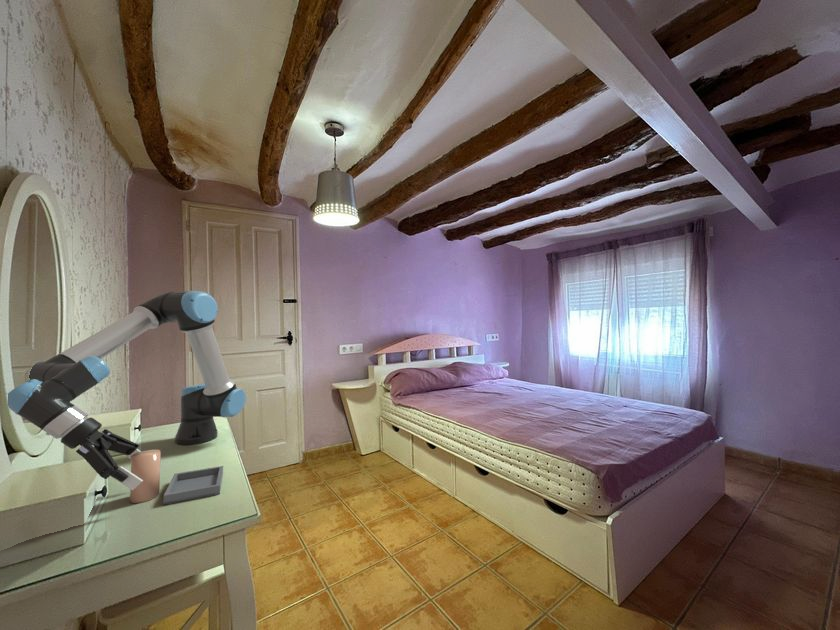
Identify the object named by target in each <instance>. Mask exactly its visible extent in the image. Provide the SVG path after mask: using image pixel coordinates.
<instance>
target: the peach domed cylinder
mask: <svg viewBox="0 0 840 630" xmlns="http://www.w3.org/2000/svg"><path fill="white" fill-rule="evenodd" d="M161 452H162V451H161V450H160V449H149V450H142V451H141V452H138V453H136V454H133V455H132V456H131V459H130V472H131V473H133V474H134V475H136V476H137V477H139V478H140V479H142V480H143V481H142V482H141V483H140V484H139V485H138V486H137V487H136V488H135V489H134V490H131V489H129V492H130V493H129V502H130V503H133V504H139V503H145V502H148V501H152V500H153V499H155V498H157V497H158V496H159V495H160V488H161V486H160V484H161V480H160V479H161V455H162V453H161Z"/></svg>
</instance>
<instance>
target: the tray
mask: <svg viewBox="0 0 840 630" xmlns="http://www.w3.org/2000/svg"><path fill="white" fill-rule="evenodd" d="M223 477H224V465H221V466H219V465H218V466H213V467H208V468H202V469H195V470H190V471H189V470H188V471H182V472H177V473H173V476H172V478H171V480H170V482H169V484H168V486H167V488H166V490H165V492H164V494H163V501H162V502H163V503H162V504H163V506H167V505H171V504H175V503H176V504H177V503H182V502H187V501H191V500H196V499H198V500H199V499H203V498H207V497H212V496H217V495H220V494H221V488H222V484H223V483H222V482H223Z"/></svg>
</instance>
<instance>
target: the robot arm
mask: <svg viewBox="0 0 840 630" xmlns="http://www.w3.org/2000/svg"><path fill="white" fill-rule="evenodd" d="M132 311H133V312H131V313H130V314H127V315H126V316H124V317H122V318H121V319H119V320H117V321H115V322H113V323H111V324H110V325H107V327H104V328H103V329H101V330H99V331H98V332H96V333H93V334H92V335H90V336H88V337H86V338H85V339H82V340H81V341H79V342H78V343H76V344H74V345H72V346H70V347H69V348H67V349H65V350H63V351H62V352H60V353H58V354H56V355H54V356H53V357H50V358H49V359H47V360H46V361H43V360H42V361H37V363H36V362H34V363H35V365H34V366H33V367H32V369H31V371H30V375H29V378H30V380H29V381H27V382H25V383H23V382H22V383H21V384H19V385H18V386H16V387H14V388H13V389H12V390H10V391H9V392H7V394H8V406H9V408H10V409H9V408H8V409H9V410H11V411H12V412H13V413H15V415H18V416H20V417H21V418H23V419H25V420H26V421H28V422H29V423H31V424H33V425H35V426H36V427H37V428H39V429H41V430H42V431H43V432H44V433H45V435H46V436H51V437H52V438H54V439H56V440H57V439H60V443H62V444H63V445H65V446H66V447H68V448H69V449H76V448H77V447H78V446H80V447H79V448H78V449H76V451H75V452H76V453H77V454H78V455H79V456H81V457H82V458H83V459H84V460H85V461H86V462H87V463H88V464H89V465H90V467H92V468H93V470H94V471H95V472H96V473H97V474H98V475H99V476H100V477H101V479H104V480H107V479H109V477H111V478H112V479H114V480H116V481H117V482H119V483H120V484H122V485H123V486H125V487H126V488H128V489H129V490H130V489H131V490H134V489H135V488H136V487H137V486H138V485H139V484H140V483H141V482H142V481H143V480H142V479H140V478H139V477H137V476H136V475H134V474H133V473H131V470H128V469H126V468H125V467H123V466H122V465H121V466H118V463H117V462H116V461H115V459H114V458H113V457H112V455H111V453H110V452H109V451H111V452H113V453H117V454H121V455H126V456H127V458H128V459H129V460H131V456H132V455H133V454H136V453H138V452H142V451H141V450H140V449H139V447H140V445H139V444H138V443H136V442H134V441H131V440H129V439H127V438H124V437H122V436H120V435H117V434H115V433H114V432H112V431H110V430H108V429H106V428H104V429H103V430H102V431H99V429H101V427H102V426H103V425H102V423H100V422H99V421H98V420H97V419H95V418H93V417H88V416H89V414H88V413H86V412H85V411H84V410H82V409H81V408H79V407H77V406H76V405H75V404H74V403H71V402H72V401H74V400H75V399H76V398H78V397H79V396H81V395H83V394H85V392H87V391H88V390H90V389H92V388H93V387H94V386H96V385H98V384H100V383H101V382H102V381H103V380H105V379H106V378H107V377H109V375H110V373H111V368H110V367H109V365H108V364H107V363H106V362H105V361H104V360H102V359H103V358H105V357H107V356H108V355H111V353H113V352H115V351H117V350H118V349H119V348H121V347H123V346H124V345H126V344H128V343H129V342H131V341H132V340H134V339H135V338H137V337H139V336H140V335H142V334H143V333H145V332H146V331H148V330H150V329H151V330H154V329H157V328H158V327H160V326H162V325H165V324H169V323H177V326H178V328H179V332H182V333H184V334H186V336H187V339H188V341H189V343H190V347H191V350H192V353H193V356H194V357H195V361H196V363H197V366H198V369H199V371H200V372H199V373H200V374H201V377H202V381H203V383H201V384H192V385H188V386H185V387H184V388H182V390H181V396H180V423H179V426H178V429H177V431H176V435H175V436H174V443H175V444H177V445H182V446H185V445H187V446H189V445H197V444H202V443H203V444H204V443H205V442H206V443H207V442H210V441H212V440H214V439H217V438H218V433H219V432H218V428H217V426H216V425H217V424H216V423H215V420H214V417H219V418H234V417H235V416H237V415H238V414H239V413H241V411H242V410H243V408H244V407H245V404H246V401H247V395H246V392H245V391H244V389H242V388H238V387H237V385H236V382H235V380H234V379H233V378H232V379H231V378H230V377H229V373H228V372H227V367H226V364H225V362H224V359H223V356H222V353H221V349H220V347H219V344H218V340H217V338H216V335H215V332H214V328H213V326H214V324H215V323H216V321H215V319H216V318H217V316H218V314H217V312H219V307H218V303H217V301H216V299H215V298H214V297H213V296H212V295H211V294H209V293H207V292H204V291H197V290H189V291H188V290H186V291H167V292H163V293H162V294H159V295H156V296H154V297H152V298H150V299H148V300H147V301H144V302H143V303H141V304H139V305H137V306H135V307H134V309H132Z"/></svg>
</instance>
